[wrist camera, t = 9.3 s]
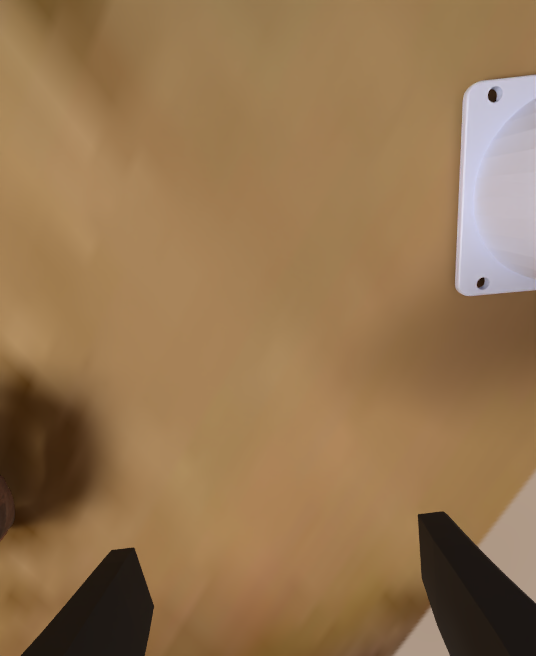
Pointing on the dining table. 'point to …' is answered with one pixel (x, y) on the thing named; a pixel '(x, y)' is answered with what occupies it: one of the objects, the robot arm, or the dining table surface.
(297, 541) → the dining table surface
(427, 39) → the dining table surface
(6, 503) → the pottery mug
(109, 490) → the dining table surface
